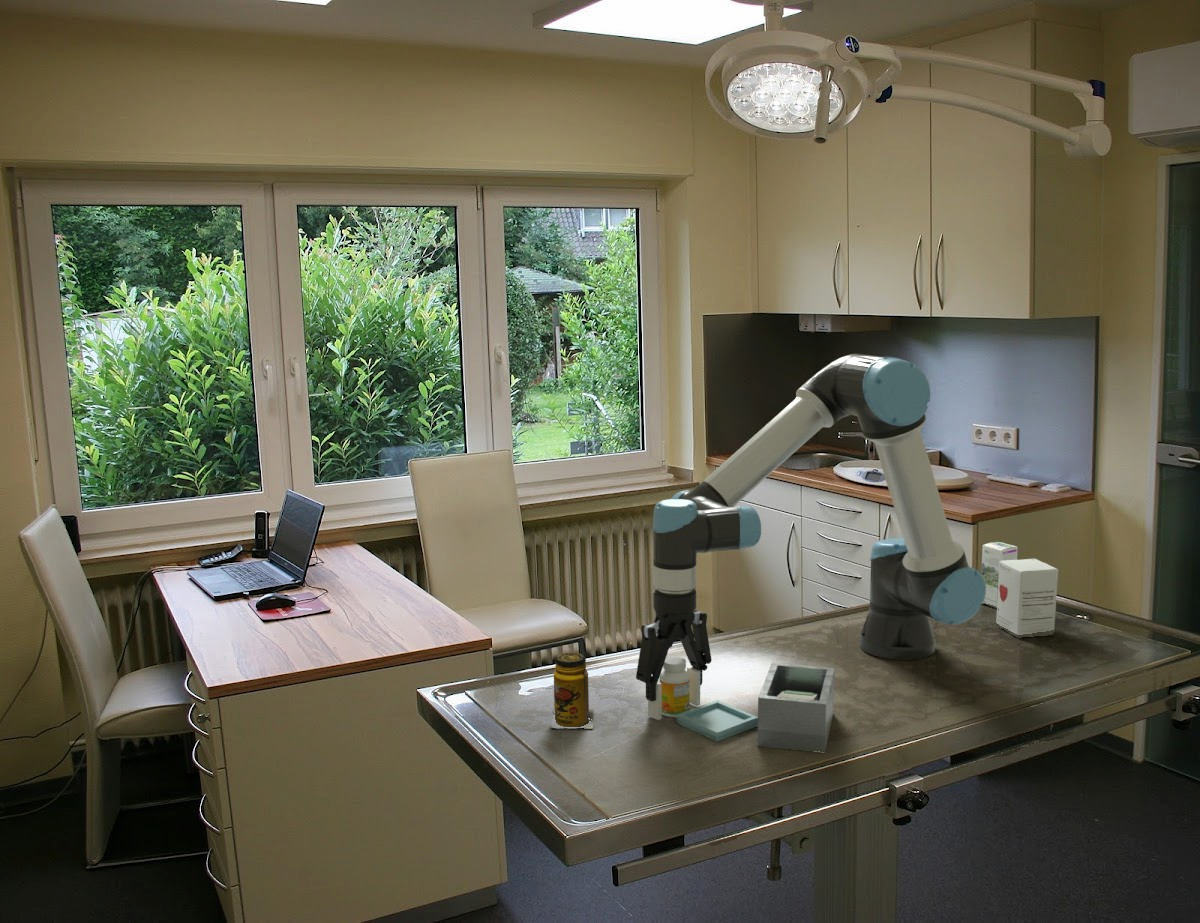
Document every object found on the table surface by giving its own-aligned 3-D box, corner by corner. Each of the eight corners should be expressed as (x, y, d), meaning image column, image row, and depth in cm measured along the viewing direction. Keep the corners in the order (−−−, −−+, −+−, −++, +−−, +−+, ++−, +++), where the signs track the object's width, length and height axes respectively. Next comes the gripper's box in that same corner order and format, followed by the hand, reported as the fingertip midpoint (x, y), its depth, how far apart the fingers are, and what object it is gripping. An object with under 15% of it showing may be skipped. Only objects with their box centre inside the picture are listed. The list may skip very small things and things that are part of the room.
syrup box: (1015, 606, 257) (1019, 545, 255) (998, 610, 254) (1001, 549, 252) (995, 600, 262) (999, 540, 260) (978, 604, 259) (981, 543, 257)
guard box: (771, 707, 200) (772, 662, 199) (833, 713, 197) (834, 668, 196) (757, 746, 184) (758, 697, 183) (824, 753, 181) (826, 704, 179)
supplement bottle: (654, 708, 200) (654, 657, 198) (681, 704, 202) (681, 653, 200) (666, 720, 195) (666, 667, 193) (694, 715, 197) (694, 663, 195)
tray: (717, 708, 200) (717, 700, 199) (758, 725, 192) (758, 717, 192) (676, 723, 194) (676, 714, 193) (717, 741, 186) (717, 732, 186)
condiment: (550, 730, 191) (549, 663, 189) (553, 710, 200) (552, 647, 198) (593, 730, 191) (592, 663, 189) (593, 710, 200) (593, 646, 197)
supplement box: (994, 625, 244) (997, 559, 241) (1031, 623, 245) (1035, 557, 243) (1016, 639, 235) (1020, 570, 232) (1055, 636, 237) (1059, 568, 234)
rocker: (780, 700, 195) (780, 689, 195) (819, 704, 193) (820, 693, 193) (773, 707, 186) (774, 695, 186) (814, 711, 184) (815, 699, 184)
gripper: (703, 572, 204) (703, 689, 208) (613, 594, 191) (614, 719, 195) (733, 581, 198) (731, 701, 202) (642, 604, 185) (642, 732, 189)
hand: (674, 709), depth 198 cm, fingers open, 9 cm apart
